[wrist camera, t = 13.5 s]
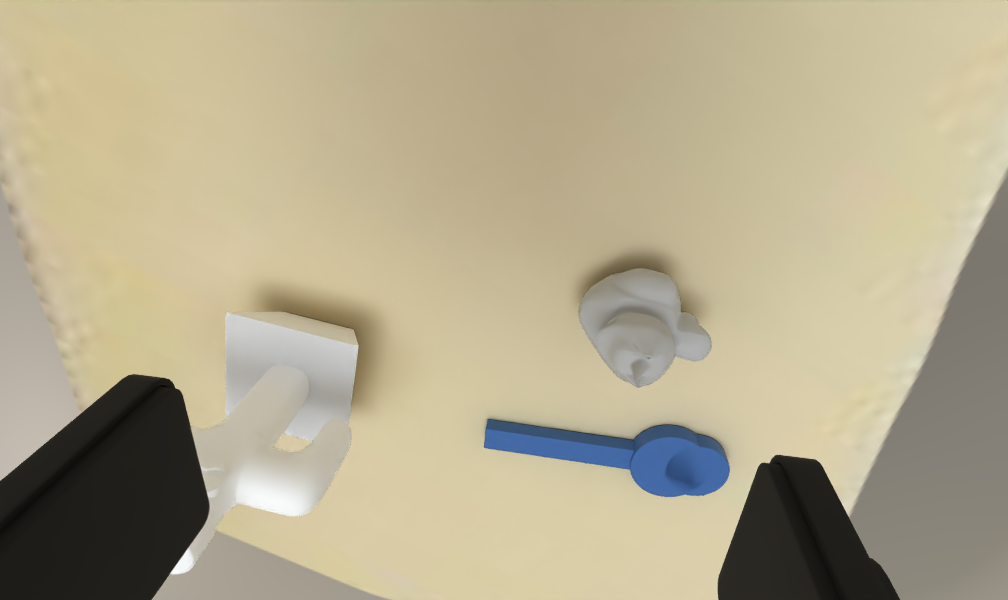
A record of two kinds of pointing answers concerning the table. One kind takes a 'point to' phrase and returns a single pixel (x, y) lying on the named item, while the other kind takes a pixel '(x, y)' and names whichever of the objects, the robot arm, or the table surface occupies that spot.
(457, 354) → the table surface
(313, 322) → the figurine
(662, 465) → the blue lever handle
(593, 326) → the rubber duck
